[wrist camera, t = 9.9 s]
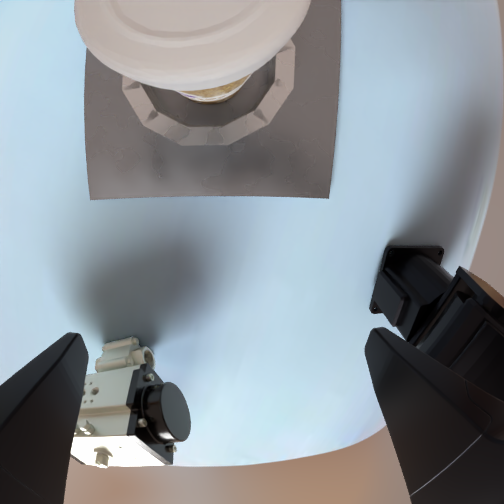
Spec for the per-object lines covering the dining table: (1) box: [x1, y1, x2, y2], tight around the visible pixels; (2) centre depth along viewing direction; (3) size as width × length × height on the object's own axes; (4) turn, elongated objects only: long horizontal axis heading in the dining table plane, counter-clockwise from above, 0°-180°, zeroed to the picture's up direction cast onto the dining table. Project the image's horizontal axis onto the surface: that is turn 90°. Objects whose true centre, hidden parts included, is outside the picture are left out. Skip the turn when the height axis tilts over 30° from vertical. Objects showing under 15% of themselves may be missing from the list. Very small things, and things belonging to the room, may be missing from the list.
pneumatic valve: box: [70, 337, 191, 468], centre depth 19 cm, size 6×12×12 cm, turn 108°
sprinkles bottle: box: [74, 0, 311, 104], centre depth 9 cm, size 5×5×13 cm
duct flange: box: [84, 0, 341, 200], centre depth 14 cm, size 16×16×3 cm
